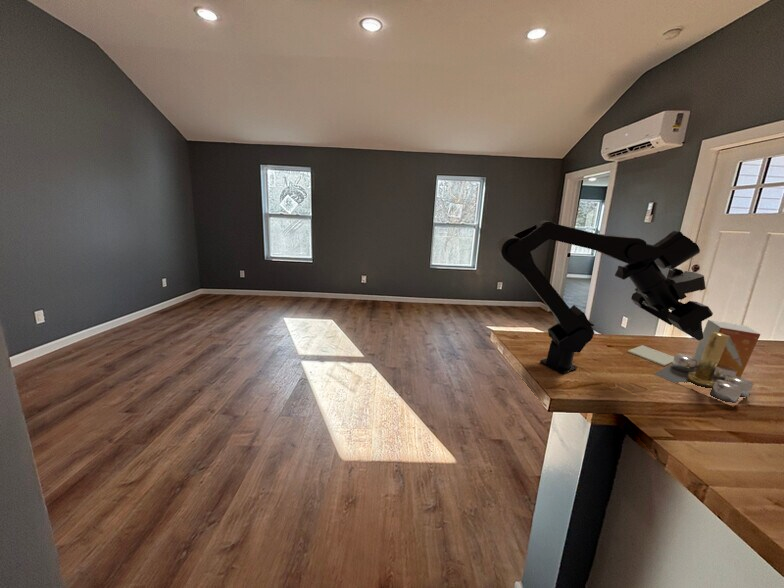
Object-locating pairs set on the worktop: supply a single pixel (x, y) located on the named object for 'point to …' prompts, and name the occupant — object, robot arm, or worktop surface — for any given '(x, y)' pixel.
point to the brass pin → (709, 361)
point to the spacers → (717, 379)
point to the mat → (673, 375)
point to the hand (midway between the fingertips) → (685, 331)
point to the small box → (730, 344)
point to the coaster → (652, 355)
